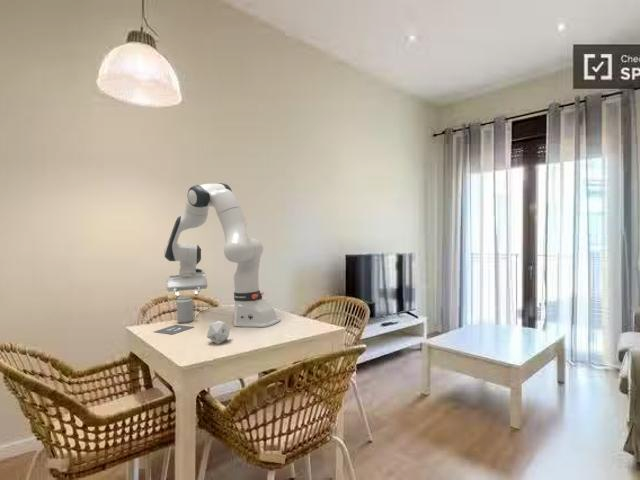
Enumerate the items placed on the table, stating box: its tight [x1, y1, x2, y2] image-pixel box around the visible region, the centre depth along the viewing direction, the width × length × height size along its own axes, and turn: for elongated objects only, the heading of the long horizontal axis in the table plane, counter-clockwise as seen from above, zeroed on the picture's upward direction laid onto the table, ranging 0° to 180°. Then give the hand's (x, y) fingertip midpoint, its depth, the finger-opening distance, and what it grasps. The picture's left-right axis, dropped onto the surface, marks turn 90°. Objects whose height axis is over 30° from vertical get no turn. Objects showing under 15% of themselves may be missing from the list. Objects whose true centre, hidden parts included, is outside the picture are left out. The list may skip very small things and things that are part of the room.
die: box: [206, 320, 231, 345], centre depth 138 cm, size 8×9×10 cm
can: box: [175, 295, 195, 324], centre depth 173 cm, size 8×8×12 cm
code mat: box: [153, 324, 194, 336], centre depth 159 cm, size 12×12×1 cm
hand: (187, 295), depth 186 cm, fingers open, 8 cm apart
